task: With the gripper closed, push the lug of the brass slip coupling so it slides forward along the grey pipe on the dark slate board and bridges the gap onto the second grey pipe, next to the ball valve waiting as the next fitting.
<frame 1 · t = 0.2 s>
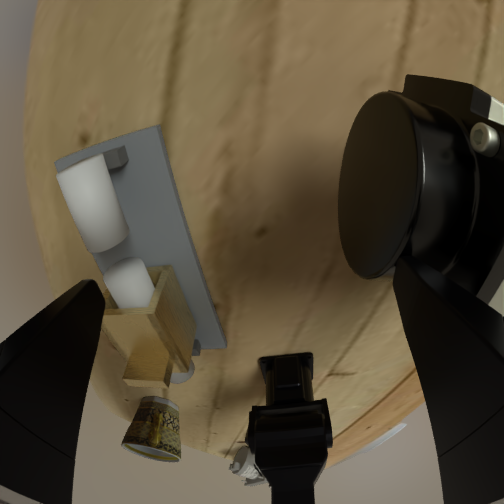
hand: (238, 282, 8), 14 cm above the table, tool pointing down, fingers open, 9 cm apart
ball valve: (419, 140, 19), on the table
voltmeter: (255, 440, 54), on the table
coupling: (146, 332, 23), point 5 cm above the table, slide at 0.0 cm
ceramic cup: (161, 400, 43), on the table
pipe run: (148, 264, 26), on the table
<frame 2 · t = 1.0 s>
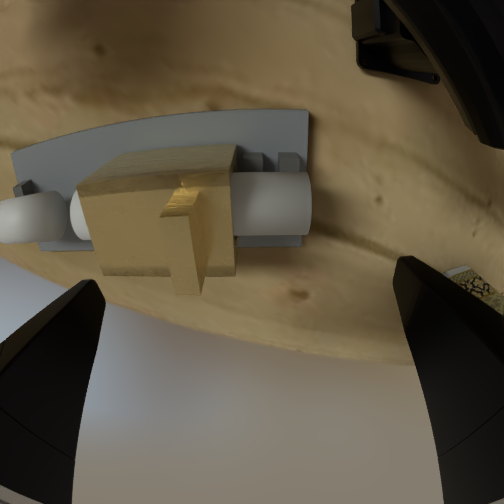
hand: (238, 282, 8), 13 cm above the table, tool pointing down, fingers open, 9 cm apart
coupling: (162, 216, 15), point 5 cm above the table, slide at 0.0 cm
ceramic cup: (444, 283, 25), on the table
pipe run: (138, 186, 20), on the table
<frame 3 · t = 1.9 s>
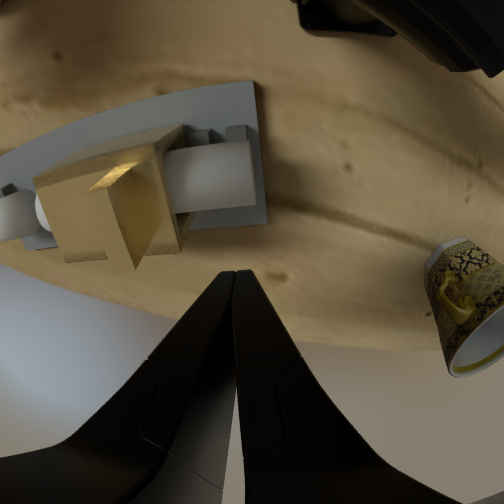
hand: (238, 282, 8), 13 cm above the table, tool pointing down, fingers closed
coupling: (111, 199, 15), point 5 cm above the table, slide at 0.0 cm
ceramic cup: (440, 258, 23), on the table
pipe run: (103, 177, 19), on the table
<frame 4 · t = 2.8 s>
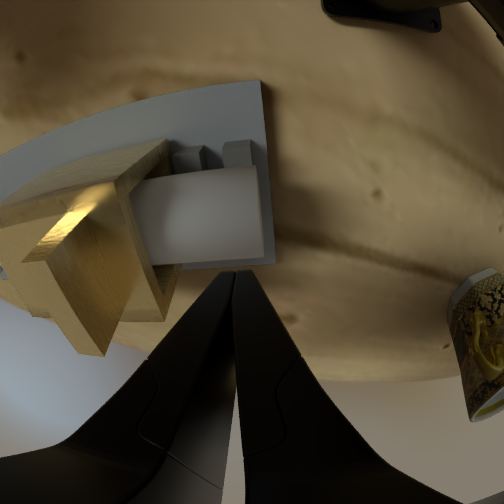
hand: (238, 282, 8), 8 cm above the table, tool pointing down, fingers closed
coupling: (74, 245, 11), point 5 cm above the table, slide at 0.0 cm
ceramic cup: (466, 291, 19), on the table
pipe run: (75, 204, 15), on the table
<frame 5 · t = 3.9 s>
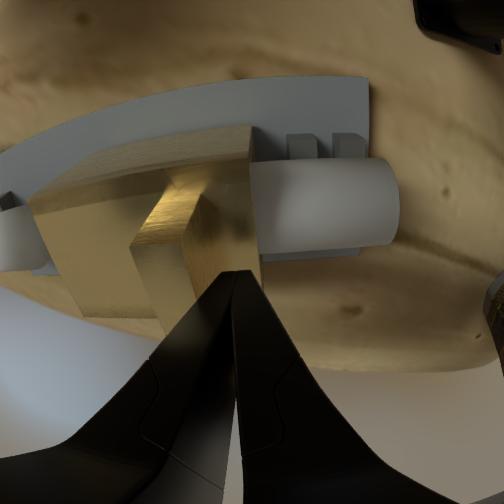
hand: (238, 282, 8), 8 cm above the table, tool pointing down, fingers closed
coupling: (152, 233, 10), point 5 cm above the table, slide at 1.1 cm, touching gripper
ceramic cup: (500, 283, 19), on the table
pipe run: (142, 188, 15), on the table
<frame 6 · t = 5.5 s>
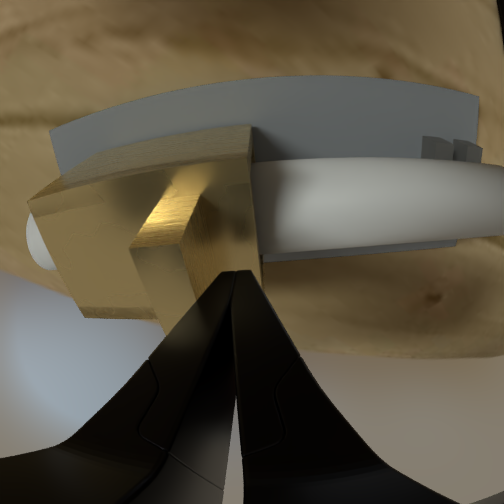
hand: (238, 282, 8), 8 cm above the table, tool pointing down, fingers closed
coupling: (152, 234, 11), point 5 cm above the table, slide at 8.4 cm, touching gripper
pipe run: (274, 173, 14), on the table
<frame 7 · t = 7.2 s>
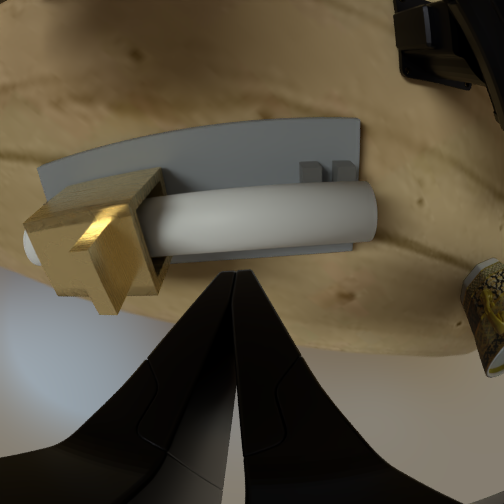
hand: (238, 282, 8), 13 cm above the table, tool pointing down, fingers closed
coupling: (95, 243, 16), point 5 cm above the table, slide at 8.5 cm
ceramic cup: (475, 276, 24), on the table
pipe run: (186, 198, 20), on the table
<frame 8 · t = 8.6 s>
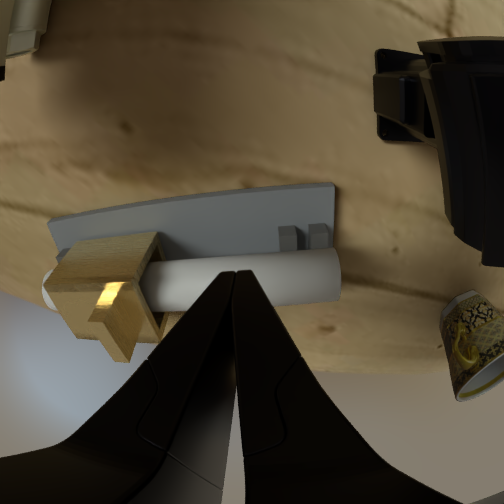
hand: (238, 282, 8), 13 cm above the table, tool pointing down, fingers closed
ball valve: (38, 5, 10), on the table
coupling: (106, 299, 19), point 5 cm above the table, slide at 8.5 cm
ceramic cup: (454, 306, 27), on the table
pipe run: (181, 253, 23), on the table
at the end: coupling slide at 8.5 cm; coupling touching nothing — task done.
